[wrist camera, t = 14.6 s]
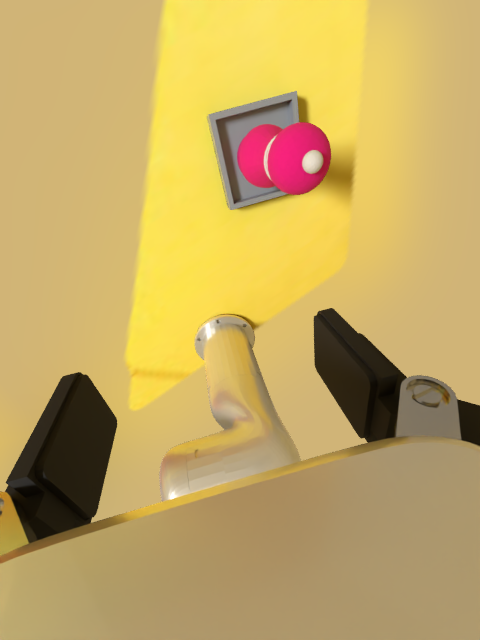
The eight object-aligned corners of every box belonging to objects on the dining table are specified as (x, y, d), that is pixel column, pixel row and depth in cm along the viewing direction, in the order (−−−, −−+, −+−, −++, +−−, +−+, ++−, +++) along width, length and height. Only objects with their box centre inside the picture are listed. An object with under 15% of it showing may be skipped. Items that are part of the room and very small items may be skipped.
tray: (298, 187, 43) (304, 189, 41) (228, 207, 43) (230, 210, 40) (289, 94, 36) (296, 90, 34) (206, 116, 36) (208, 114, 34)
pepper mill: (226, 172, 39) (261, 189, 23) (245, 116, 36) (302, 87, 20) (268, 192, 42) (328, 220, 25) (289, 141, 39) (373, 134, 22)
